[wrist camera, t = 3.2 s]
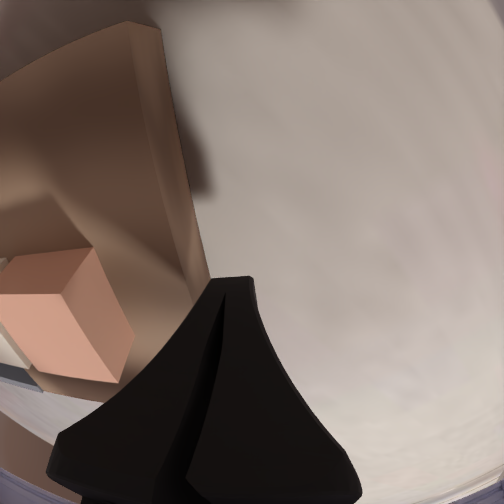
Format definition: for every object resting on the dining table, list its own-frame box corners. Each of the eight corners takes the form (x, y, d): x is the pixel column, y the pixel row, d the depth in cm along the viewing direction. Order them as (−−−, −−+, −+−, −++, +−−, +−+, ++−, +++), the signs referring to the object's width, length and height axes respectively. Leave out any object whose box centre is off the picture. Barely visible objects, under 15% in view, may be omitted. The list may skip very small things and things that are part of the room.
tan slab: (235, 370, 18) (231, 412, 16) (57, 360, 20) (43, 390, 17) (160, 29, 8) (126, 20, 6) (-53, 134, 10) (-89, 155, 7)
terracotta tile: (135, 335, 12) (118, 383, 10) (58, 332, 13) (38, 371, 11) (93, 246, 10) (60, 293, 8) (14, 256, 10) (-18, 294, 8)
